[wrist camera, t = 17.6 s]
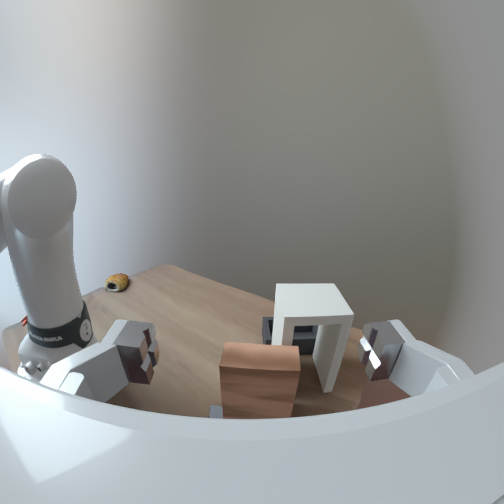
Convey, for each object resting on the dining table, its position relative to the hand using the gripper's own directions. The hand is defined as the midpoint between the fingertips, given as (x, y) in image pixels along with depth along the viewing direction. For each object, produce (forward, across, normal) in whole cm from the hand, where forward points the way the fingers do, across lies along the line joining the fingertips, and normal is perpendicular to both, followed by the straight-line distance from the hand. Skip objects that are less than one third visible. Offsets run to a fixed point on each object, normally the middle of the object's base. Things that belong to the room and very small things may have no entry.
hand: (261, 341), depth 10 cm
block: (+19, +2, -29) cm, 35 cm away
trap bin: (+37, +10, -30) cm, 49 cm away
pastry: (+61, -39, -30) cm, 78 cm away
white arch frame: (+27, +10, -30) cm, 42 cm away
